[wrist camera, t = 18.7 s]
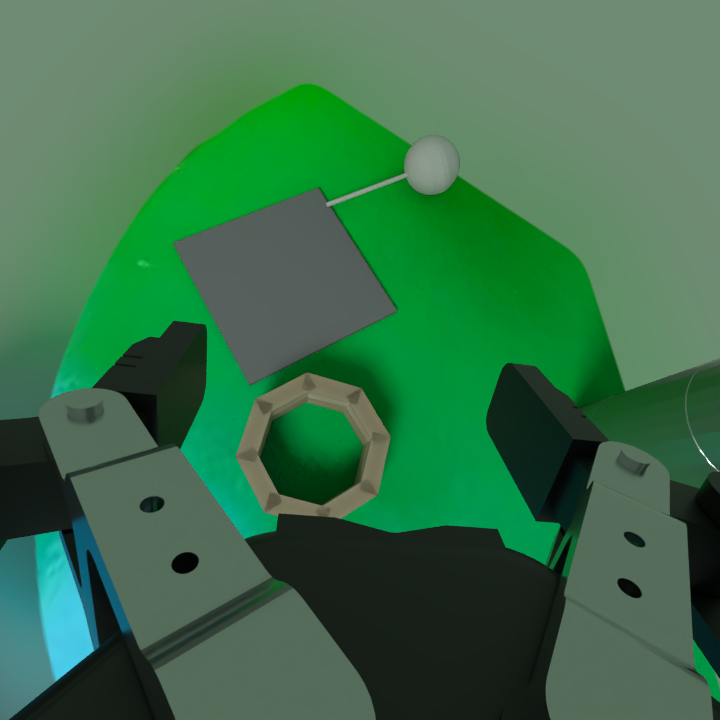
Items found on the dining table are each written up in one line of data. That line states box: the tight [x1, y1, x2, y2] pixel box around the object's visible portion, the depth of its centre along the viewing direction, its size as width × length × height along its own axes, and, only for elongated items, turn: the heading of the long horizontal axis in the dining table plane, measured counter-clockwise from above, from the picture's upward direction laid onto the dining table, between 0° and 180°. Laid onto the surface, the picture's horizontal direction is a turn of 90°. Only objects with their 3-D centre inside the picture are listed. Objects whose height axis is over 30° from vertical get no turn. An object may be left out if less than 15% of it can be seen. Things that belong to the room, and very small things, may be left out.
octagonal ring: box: [236, 372, 391, 519], centre depth 38 cm, size 12×11×4 cm
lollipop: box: [326, 135, 460, 207], centre depth 48 cm, size 6×6×15 cm
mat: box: [173, 188, 397, 385], centre depth 44 cm, size 16×16×1 cm
